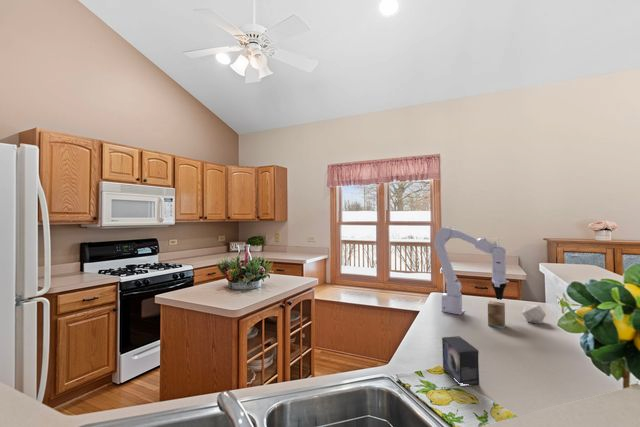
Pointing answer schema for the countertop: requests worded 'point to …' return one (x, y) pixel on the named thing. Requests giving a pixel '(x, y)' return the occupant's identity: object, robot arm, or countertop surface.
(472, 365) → the small box
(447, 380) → the countertop surface
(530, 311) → the die
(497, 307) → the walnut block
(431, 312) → the countertop surface
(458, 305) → the robot arm
